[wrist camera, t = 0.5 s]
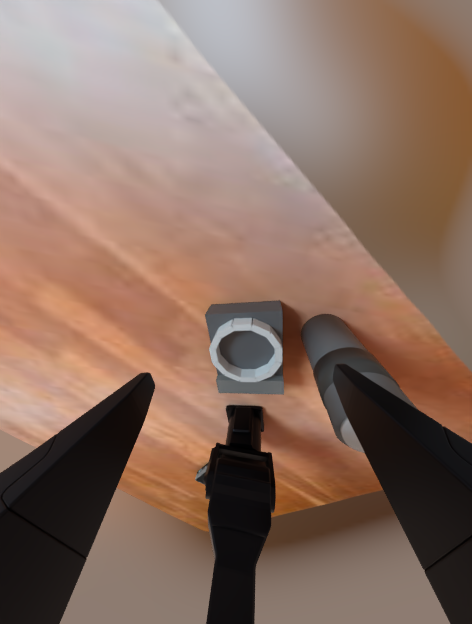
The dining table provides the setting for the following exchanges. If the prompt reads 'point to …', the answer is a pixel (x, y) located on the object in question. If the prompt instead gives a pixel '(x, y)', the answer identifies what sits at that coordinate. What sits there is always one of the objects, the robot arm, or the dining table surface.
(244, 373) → the camera body
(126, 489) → the dining table surface
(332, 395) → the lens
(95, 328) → the dining table surface
